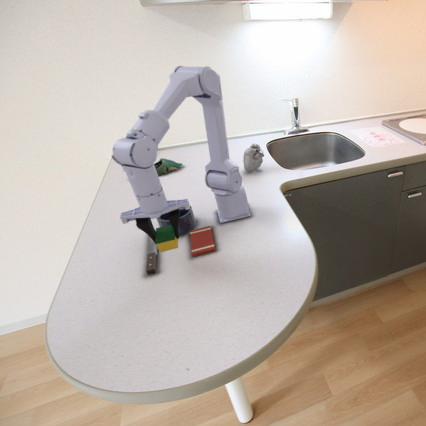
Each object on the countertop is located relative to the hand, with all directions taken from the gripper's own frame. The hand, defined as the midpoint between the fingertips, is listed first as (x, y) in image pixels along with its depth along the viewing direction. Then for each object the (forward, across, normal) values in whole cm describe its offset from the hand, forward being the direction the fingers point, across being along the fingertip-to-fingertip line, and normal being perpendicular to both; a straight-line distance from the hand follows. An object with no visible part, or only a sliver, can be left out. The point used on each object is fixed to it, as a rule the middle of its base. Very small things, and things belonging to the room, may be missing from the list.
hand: (167, 238), depth 77 cm
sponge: (+1, 0, 0) cm, 1 cm away
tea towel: (+8, +7, +7) cm, 13 cm away
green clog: (+8, -6, +66) cm, 66 cm away
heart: (+8, +31, +49) cm, 58 cm away
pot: (+8, +1, +18) cm, 19 cm away
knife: (+8, -6, +9) cm, 13 cm away
